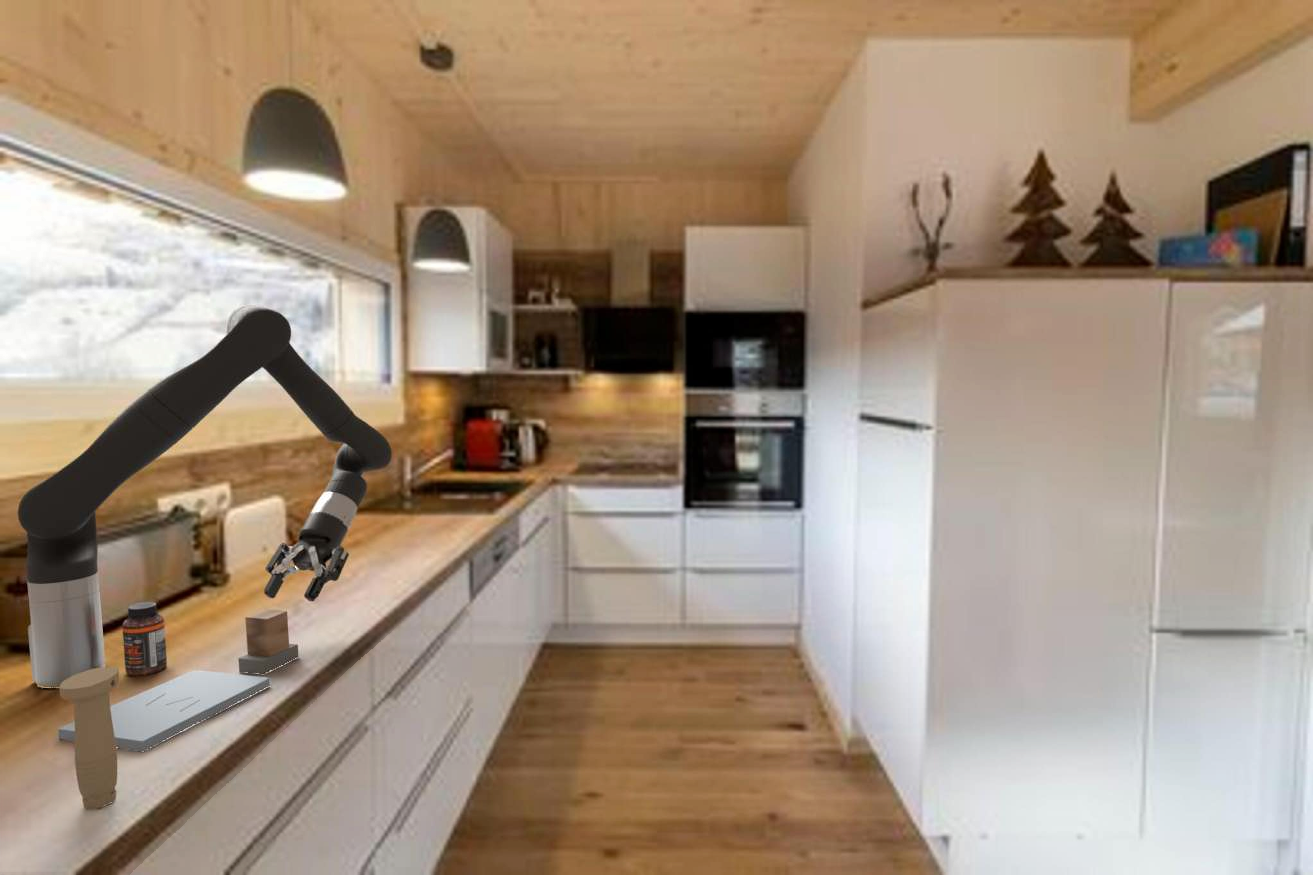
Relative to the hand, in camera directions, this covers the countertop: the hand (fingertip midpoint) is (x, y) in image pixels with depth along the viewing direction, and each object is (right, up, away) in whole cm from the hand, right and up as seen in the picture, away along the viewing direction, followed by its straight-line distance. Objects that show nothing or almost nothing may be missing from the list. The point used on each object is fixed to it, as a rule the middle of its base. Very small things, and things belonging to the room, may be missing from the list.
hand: (288, 597), depth 137 cm
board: (-7, -12, -22) cm, 26 cm away
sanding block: (-1, -11, -4) cm, 12 cm away
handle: (+1, -14, -47) cm, 49 cm away
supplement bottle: (-21, -11, -6) cm, 25 cm away
